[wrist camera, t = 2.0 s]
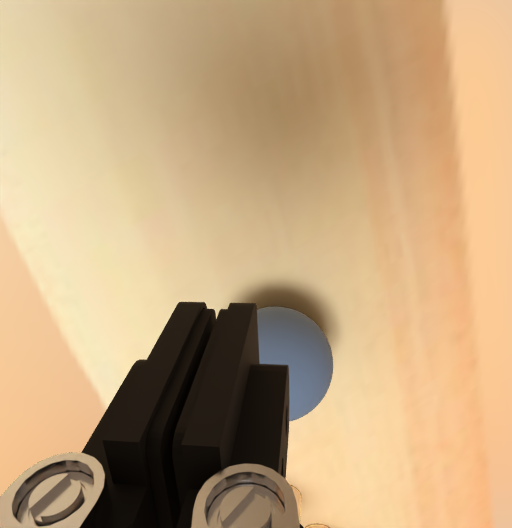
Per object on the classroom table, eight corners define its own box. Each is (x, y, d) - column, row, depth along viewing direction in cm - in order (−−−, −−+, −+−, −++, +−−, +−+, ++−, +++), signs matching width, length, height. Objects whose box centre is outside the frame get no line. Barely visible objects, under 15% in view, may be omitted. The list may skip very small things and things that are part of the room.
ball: (226, 285, 26) (202, 347, 20) (332, 287, 25) (337, 352, 20) (233, 370, 28) (213, 445, 23) (330, 374, 28) (333, 453, 22)
